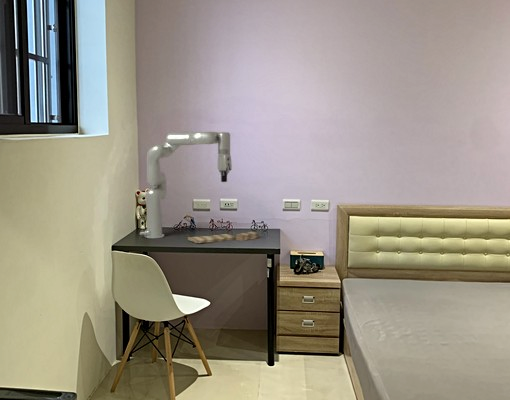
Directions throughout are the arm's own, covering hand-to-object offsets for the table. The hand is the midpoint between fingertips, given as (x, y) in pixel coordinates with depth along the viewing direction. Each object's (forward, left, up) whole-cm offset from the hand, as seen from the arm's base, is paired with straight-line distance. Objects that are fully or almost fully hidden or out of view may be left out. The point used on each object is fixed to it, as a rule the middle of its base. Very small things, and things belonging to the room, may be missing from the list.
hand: (224, 181), depth 357 cm
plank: (-13, +4, -37) cm, 39 cm away
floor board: (+1, +4, -37) cm, 37 cm away
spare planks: (+15, -4, -37) cm, 40 cm away
